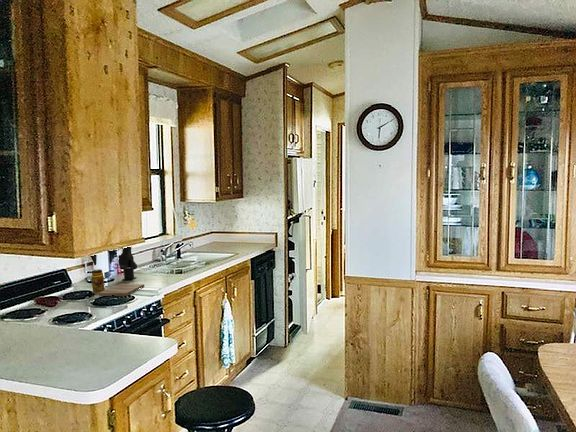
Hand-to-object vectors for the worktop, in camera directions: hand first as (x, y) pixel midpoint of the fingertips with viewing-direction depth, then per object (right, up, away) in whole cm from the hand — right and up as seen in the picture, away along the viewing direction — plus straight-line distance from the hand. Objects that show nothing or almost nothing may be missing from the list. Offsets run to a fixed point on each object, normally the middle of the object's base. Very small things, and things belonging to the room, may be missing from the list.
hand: (102, 264), depth 281 cm
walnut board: (+12, -14, -4) cm, 19 cm away
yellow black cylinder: (-2, -15, -2) cm, 15 cm away
